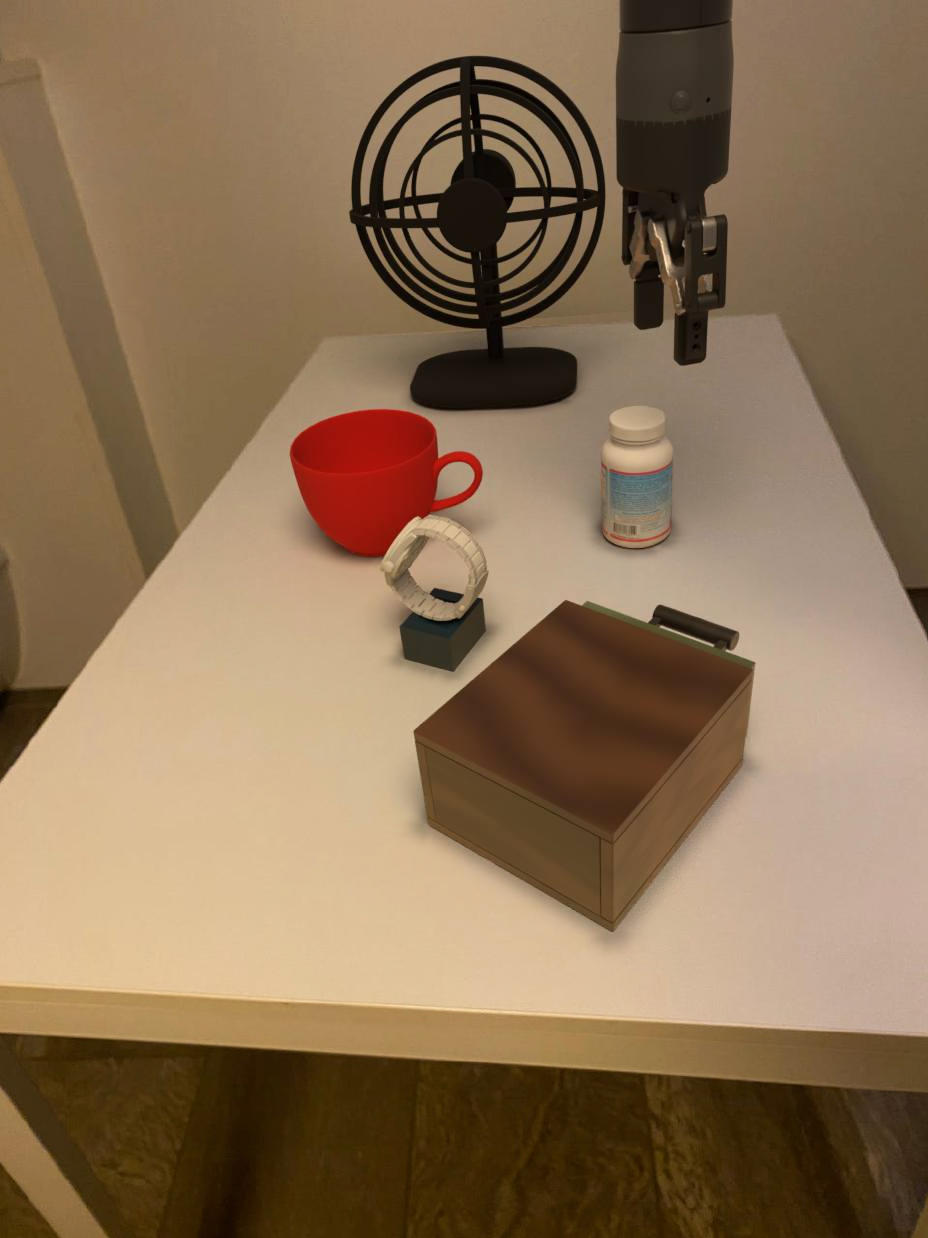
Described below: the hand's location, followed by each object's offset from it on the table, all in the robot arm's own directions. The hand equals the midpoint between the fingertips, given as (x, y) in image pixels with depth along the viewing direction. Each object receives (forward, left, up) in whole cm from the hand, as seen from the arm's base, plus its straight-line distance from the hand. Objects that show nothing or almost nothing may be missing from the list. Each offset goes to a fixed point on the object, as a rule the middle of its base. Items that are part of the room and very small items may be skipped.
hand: (667, 344), depth 73 cm
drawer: (-11, +23, -17) cm, 31 cm away
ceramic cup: (+21, +11, -19) cm, 30 cm away
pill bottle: (+3, -1, -19) cm, 19 cm away
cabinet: (-11, +28, -18) cm, 35 cm away
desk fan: (+35, -21, -19) cm, 45 cm away
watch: (+7, +21, -19) cm, 29 cm away
